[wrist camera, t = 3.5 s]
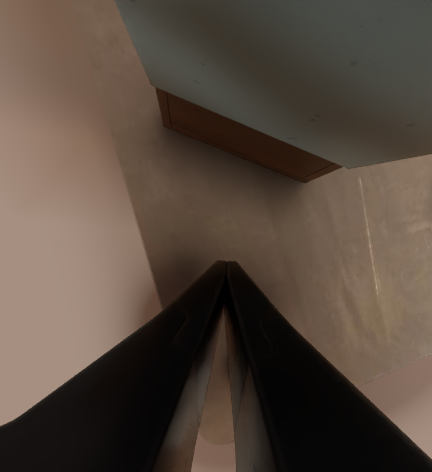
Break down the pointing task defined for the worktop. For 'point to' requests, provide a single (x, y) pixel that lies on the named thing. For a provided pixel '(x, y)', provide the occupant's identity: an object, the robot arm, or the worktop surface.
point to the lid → (299, 69)
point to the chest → (240, 139)
